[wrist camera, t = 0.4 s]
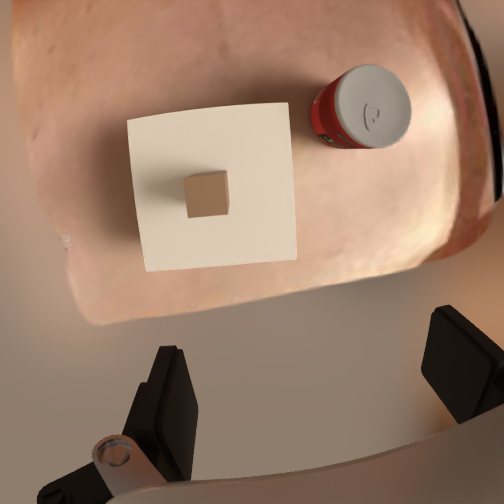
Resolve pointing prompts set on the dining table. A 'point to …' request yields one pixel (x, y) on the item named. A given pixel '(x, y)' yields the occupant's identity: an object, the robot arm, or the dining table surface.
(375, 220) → the dining table surface
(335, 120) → the canned food
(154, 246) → the lid
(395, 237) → the dining table surface
